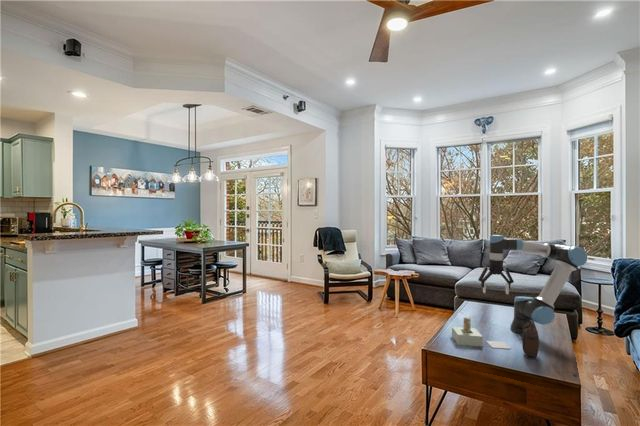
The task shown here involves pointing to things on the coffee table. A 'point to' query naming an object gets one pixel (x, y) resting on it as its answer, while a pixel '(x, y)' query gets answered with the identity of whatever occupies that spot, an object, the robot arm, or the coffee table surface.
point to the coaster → (497, 344)
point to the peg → (467, 325)
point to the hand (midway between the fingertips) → (495, 293)
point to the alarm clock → (530, 340)
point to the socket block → (467, 337)
